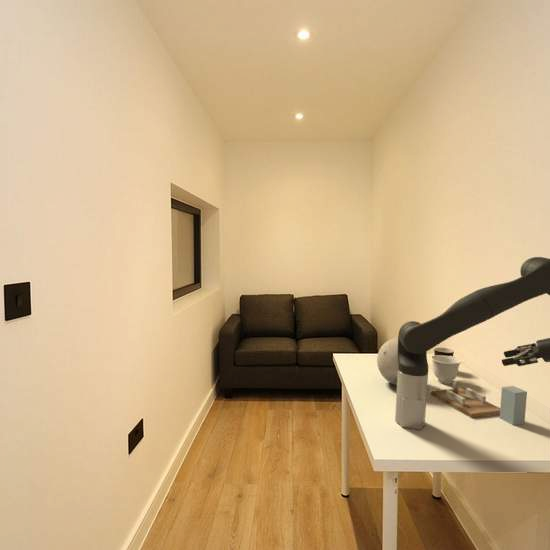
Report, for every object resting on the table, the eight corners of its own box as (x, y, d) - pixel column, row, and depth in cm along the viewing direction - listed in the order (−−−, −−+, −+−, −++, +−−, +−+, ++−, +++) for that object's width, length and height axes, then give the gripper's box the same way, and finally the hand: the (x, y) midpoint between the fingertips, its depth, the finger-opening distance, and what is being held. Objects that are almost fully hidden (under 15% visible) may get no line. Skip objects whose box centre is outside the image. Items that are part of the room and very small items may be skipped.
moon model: (418, 399, 136) (421, 347, 135) (368, 385, 148) (370, 338, 147) (431, 384, 152) (434, 338, 151) (385, 373, 164) (387, 330, 163)
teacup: (465, 379, 158) (466, 358, 158) (455, 389, 147) (456, 365, 147) (436, 373, 166) (438, 352, 166) (425, 381, 155) (427, 358, 155)
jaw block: (524, 423, 119) (527, 391, 118) (512, 425, 117) (515, 392, 117) (510, 416, 124) (513, 386, 123) (499, 418, 122) (501, 387, 121)
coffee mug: (451, 374, 165) (452, 353, 164) (431, 370, 169) (432, 350, 168) (454, 368, 174) (455, 348, 174) (435, 364, 179) (436, 345, 178)
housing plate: (503, 414, 125) (504, 396, 125) (471, 417, 122) (472, 399, 121) (459, 391, 145) (461, 376, 144) (430, 394, 141) (432, 378, 140)
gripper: (551, 331, 125) (500, 343, 134) (552, 344, 113) (497, 355, 123) (560, 352, 124) (509, 361, 134) (563, 366, 113) (506, 376, 122)
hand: (503, 358), depth 128 cm, fingers open, 8 cm apart
